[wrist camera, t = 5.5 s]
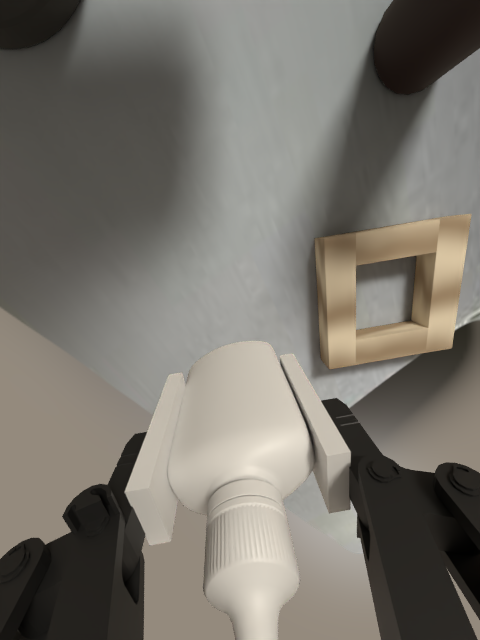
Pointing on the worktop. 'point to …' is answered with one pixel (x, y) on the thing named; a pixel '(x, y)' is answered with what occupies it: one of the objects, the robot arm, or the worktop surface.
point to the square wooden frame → (428, 298)
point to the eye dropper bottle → (242, 480)
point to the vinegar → (424, 41)
